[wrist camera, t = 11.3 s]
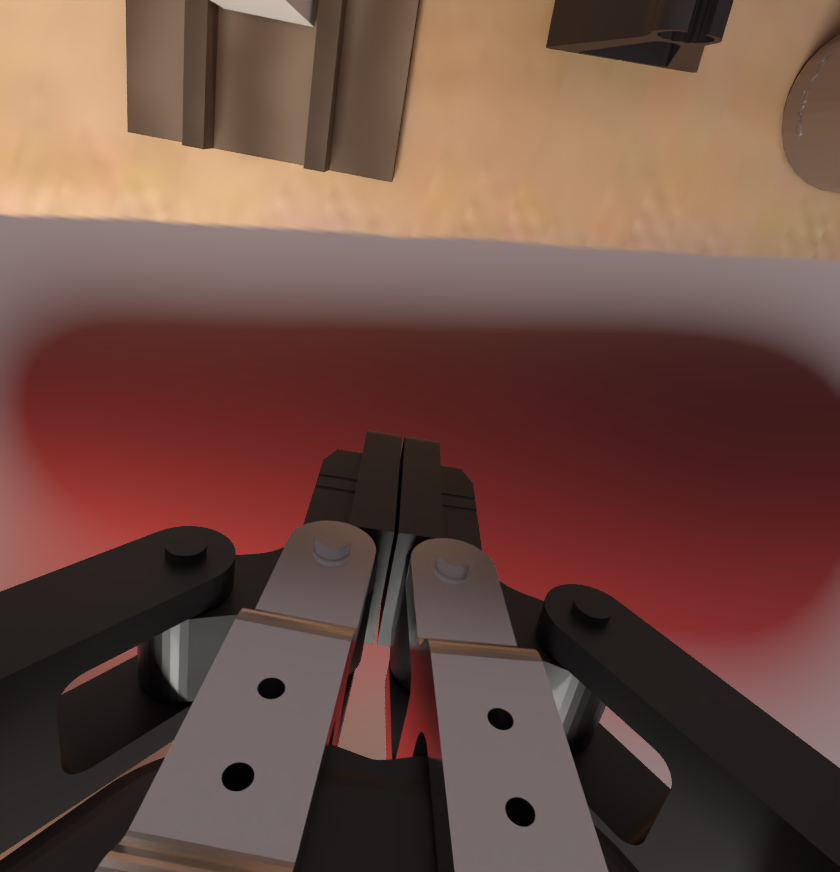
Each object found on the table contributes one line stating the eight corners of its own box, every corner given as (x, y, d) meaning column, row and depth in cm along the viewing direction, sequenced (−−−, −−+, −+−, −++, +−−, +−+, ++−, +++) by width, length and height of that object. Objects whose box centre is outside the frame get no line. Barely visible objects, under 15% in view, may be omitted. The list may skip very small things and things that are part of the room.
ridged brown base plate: (429, -72, 35) (430, -88, 32) (392, 180, 41) (390, 184, 38) (131, -136, 34) (106, -160, 31) (134, 131, 40) (113, 131, 37)
